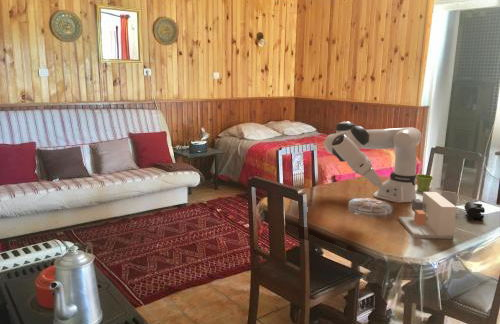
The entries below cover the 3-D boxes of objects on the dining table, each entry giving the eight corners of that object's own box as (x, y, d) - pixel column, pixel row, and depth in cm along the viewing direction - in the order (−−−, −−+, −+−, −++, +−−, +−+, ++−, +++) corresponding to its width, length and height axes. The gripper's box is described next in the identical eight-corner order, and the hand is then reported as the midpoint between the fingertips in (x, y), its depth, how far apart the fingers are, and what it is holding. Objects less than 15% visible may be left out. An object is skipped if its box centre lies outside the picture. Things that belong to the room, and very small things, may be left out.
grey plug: (415, 212, 189) (416, 202, 188) (411, 209, 193) (412, 199, 192) (425, 213, 188) (426, 202, 187) (421, 209, 193) (422, 199, 192)
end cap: (463, 213, 205) (465, 200, 204) (479, 215, 203) (481, 202, 201) (466, 220, 196) (468, 206, 195) (483, 222, 194) (485, 208, 192)
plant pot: (431, 189, 248) (432, 175, 246) (432, 193, 239) (433, 178, 237) (414, 187, 251) (415, 173, 249) (414, 191, 242) (416, 177, 240)
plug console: (413, 237, 174) (417, 206, 171) (398, 219, 195) (401, 191, 192) (452, 239, 173) (456, 207, 170) (433, 220, 194) (436, 192, 192)
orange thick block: (417, 225, 173) (418, 213, 172) (413, 220, 178) (414, 209, 177) (428, 225, 173) (429, 214, 172) (424, 221, 178) (425, 210, 177)
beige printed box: (454, 212, 206) (456, 193, 204) (439, 210, 209) (441, 191, 207) (455, 211, 209) (457, 192, 207) (440, 208, 212) (443, 189, 210)
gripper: (351, 163, 198) (370, 184, 200) (359, 174, 178) (380, 196, 180) (361, 155, 197) (380, 175, 199) (371, 164, 177) (392, 187, 179)
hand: (380, 185), depth 189 cm, fingers closed
